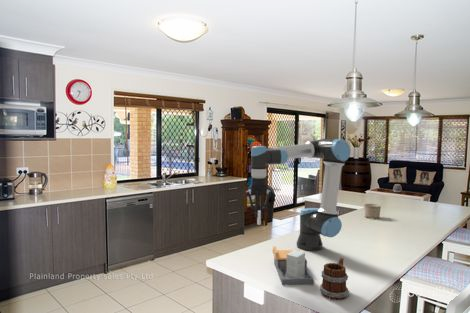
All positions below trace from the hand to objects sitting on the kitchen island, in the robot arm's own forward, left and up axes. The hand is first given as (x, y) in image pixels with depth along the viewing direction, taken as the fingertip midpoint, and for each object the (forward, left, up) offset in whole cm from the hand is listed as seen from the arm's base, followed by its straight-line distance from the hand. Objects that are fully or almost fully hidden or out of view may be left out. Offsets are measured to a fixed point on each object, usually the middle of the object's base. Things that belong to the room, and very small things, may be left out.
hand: (259, 223), depth 167 cm
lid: (-14, +2, -15) cm, 21 cm away
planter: (-103, -103, -22) cm, 148 cm away
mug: (-29, +29, -22) cm, 47 cm away
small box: (-16, +14, -21) cm, 30 cm away
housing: (-15, +9, -22) cm, 28 cm away
